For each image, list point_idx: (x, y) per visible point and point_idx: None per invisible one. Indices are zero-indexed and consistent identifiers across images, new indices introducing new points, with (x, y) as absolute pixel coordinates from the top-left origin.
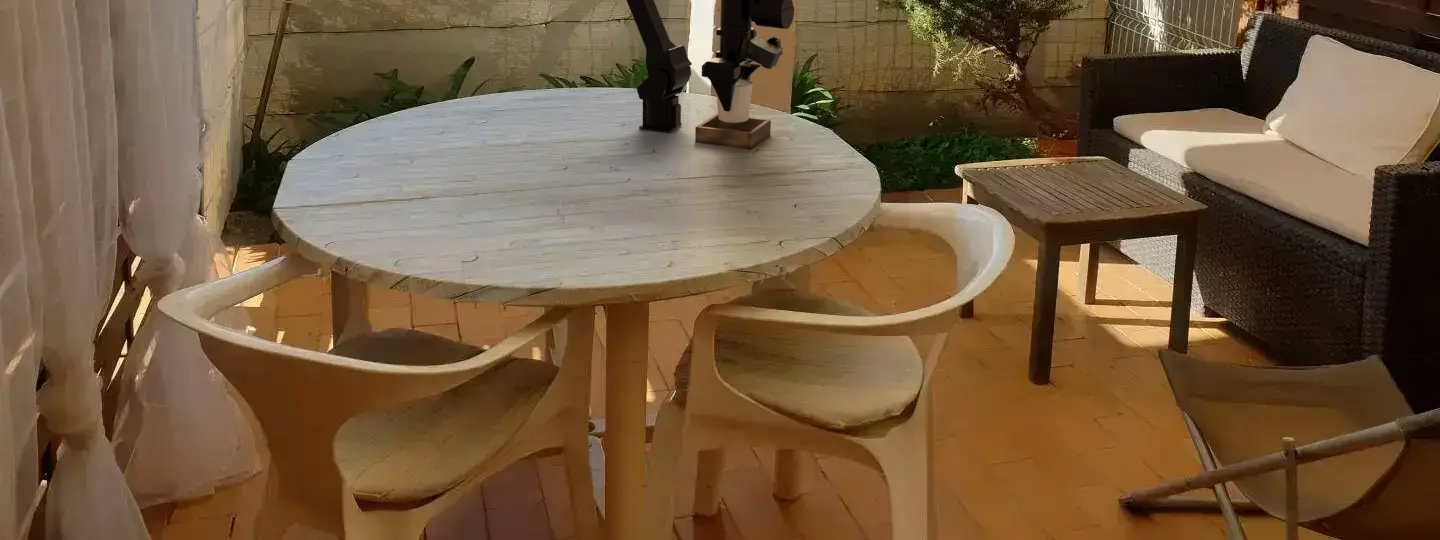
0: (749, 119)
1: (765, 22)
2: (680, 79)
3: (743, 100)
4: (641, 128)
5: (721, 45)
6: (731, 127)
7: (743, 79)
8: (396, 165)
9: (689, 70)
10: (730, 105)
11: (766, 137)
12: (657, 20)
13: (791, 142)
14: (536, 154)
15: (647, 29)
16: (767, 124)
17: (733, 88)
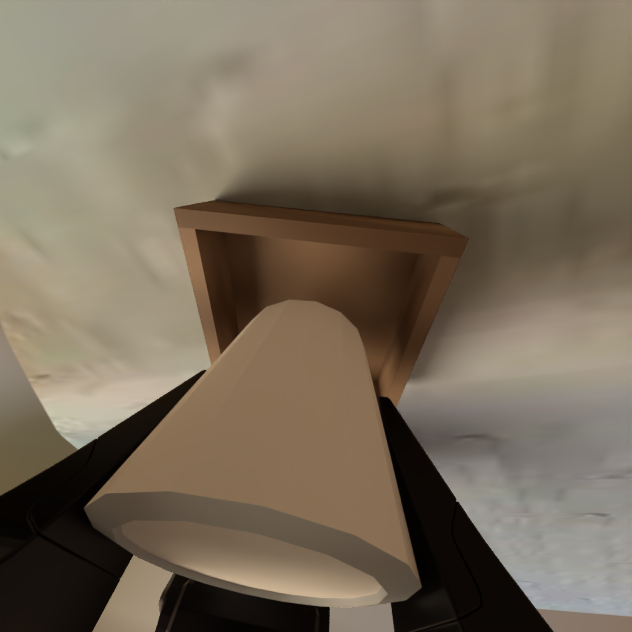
0: (212, 299)
1: None
2: (273, 602)
3: (352, 395)
4: None
5: None
6: (237, 334)
7: (115, 535)
8: (540, 586)
9: (186, 620)
10: (402, 423)
11: (256, 205)
12: None
13: (272, 48)
14: (495, 531)
15: None
16: (227, 211)
17: (469, 579)
